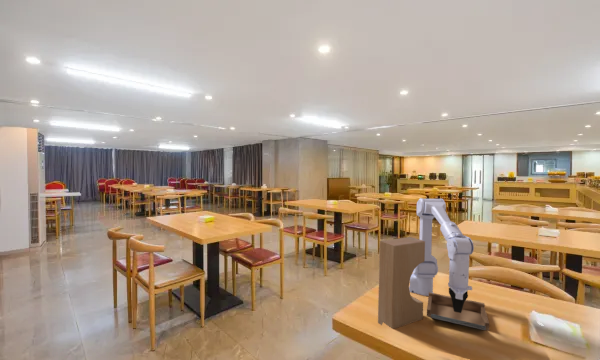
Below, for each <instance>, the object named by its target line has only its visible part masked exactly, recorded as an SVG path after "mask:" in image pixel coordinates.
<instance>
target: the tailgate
mask: <svg viewBox="0 0 600 360" xmlns="http://www.w3.org/2000/svg"><path fill="white" fill-rule="evenodd" d="M430 318H431V319H435V320H439V321H443V322H449V323H452V324H457V325H460V326H465V327H469V328H473V329H478V330H483V331H487V330H486V326H483V325H479V324H474V323H470V322H466V321H461V320H457V319H452V318H448V317H444V316H439V315H435V314H431V315H430Z"/></svg>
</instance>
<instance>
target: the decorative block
mask: <svg viewBox="0 0 600 360" xmlns="http://www.w3.org/2000/svg"><path fill="white" fill-rule="evenodd" d="M419 239H420V238H415V237H413V236H412V237H411V236H408V237H400V238H393V239H392V238H391V239H386V240H380V241H379V252H378V253H379V254H378V255H379V260H378V298H377V299H378V304H377V309H378V310H377V323H378V324H379V325H380V326H383V324H385V325H386V326H387V327H389V328H391V329H392V330H394V329H397V328H401V327H403V326H406V325H409V324H411V323H412V324H413V323H415V322H418V321H421V320H423V319H424V318H423V317H424V302H423V301H422V300H420V299H417V298H416V297H414V296H412V295H411V292H410V290H409V286H410V277H411V275H412V273H413V271H414V269H415V268H416V267H417V266H418V265H419V264H420V263H422V262H424V260H425V241H423V240H419Z"/></svg>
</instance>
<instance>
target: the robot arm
mask: <svg viewBox="0 0 600 360" xmlns="http://www.w3.org/2000/svg"><path fill="white" fill-rule="evenodd" d="M446 208H447V205H446V202H445V200H444V199H443V198H423V197H420V198H419V199H418V200H417V202H416V216H417V217H419V238H418V239H419V240H423V241H425V260H424V262H422V263H420V264H419V265H418V266H417V267H416V268H415V269H414V271H413V273H412V275H411V277H410V283H409V290H410V293H413V294H417V295H420V296H425V297H429V292H430V293H434V288H433V287H434V278H435V277H436V276H437V275H438V272H439V265H438V259H437V258H436V257H435V256H434V255H432V249H433V248H432V247H433V246H432V245H433V244H432V241H433V220H434V219H436V221H437V222H438V223H439V225H440V228H439V229H440V232H441V234H442V236H443V238H444V239H445V241H446V249H447V256H448V258H449V266H448V267H449V271H448V274H449V275H448V284H447V286H448V294H449V296H450V297H451V299H452V303H453V309H454V312H458V313H461V311H462V308H463V304H464V302H465V300H468V297H469V294H468V291H473V287H472V286H470V285H469V277H470V276H469V274H470V271H469V270H470V268H469V267H470V255H472V254H473V253H474V246H475V245H474V242H473V240H472V239H471V237H469V236H467V235H464V234H463V232H462V231H461V229H460V228H459V227H458V225H457V224H456V223H455V222H454V221H451V219H450V217H449V215H448V213H447V212H446V210H447V209H446Z"/></svg>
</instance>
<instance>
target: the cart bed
mask: <svg viewBox="0 0 600 360" xmlns="http://www.w3.org/2000/svg"><path fill="white" fill-rule="evenodd" d="M427 297H428V298H427V299H428V300H427V306H426V317H429V318H431V314H435V315H439V316H444V317H448V318H452V319H457V320H461V321H466V322H470V323H474V324H479V325H483V326H486V330H485V331H487V332H489V331H490V321H489V318H488V314H487V311H486V308H485V306H486V304H485V302H481V301H475V300H471V299H470V300H469V299H466V300H465V302H464V304H463V308H462V311H461V313H458V312H454V309H453V303H452V299H451V296H450V295H446V294H445V295H444V294H441V293H440V294H439V293H435V292H433V293H430V292H429V296H427Z"/></svg>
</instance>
